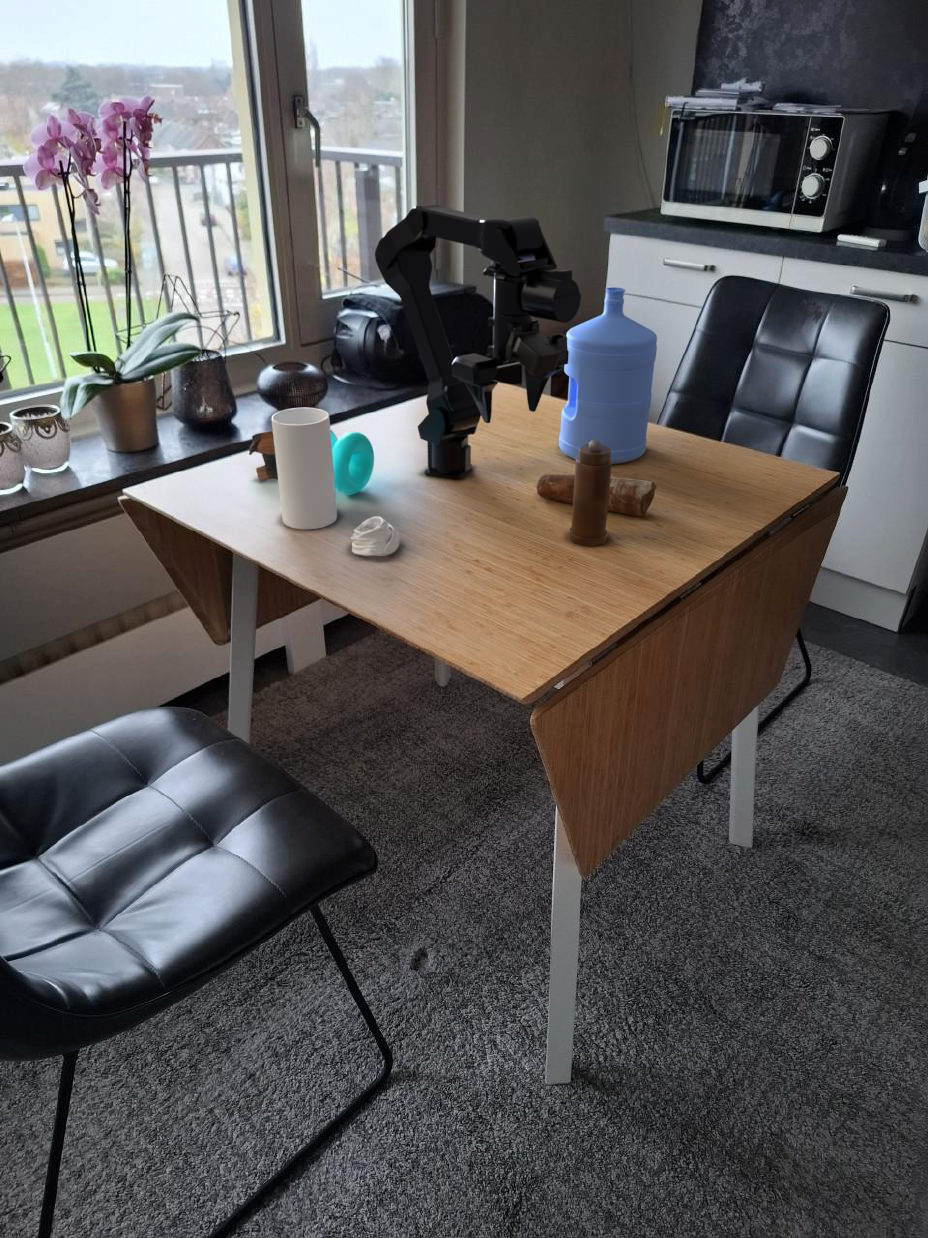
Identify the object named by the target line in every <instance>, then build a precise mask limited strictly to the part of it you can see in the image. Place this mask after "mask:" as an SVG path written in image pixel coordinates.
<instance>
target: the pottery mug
mask: <svg viewBox="0 0 928 1238" xmlns="http://www.w3.org/2000/svg"><path fill="white" fill-rule="evenodd" d="M251 439H252V443H251V444H250V446H249V448H248V451H249V453H248V455H249V456H250V455H253V453H258V454H261V456H262V459H263V463H264V465H261V466H258V467H256V468H255V471H256V474H257V478H258V481H267V480H278V473H277V464H276V455H275V446H274V437H273V430H271V431H264V432H258V433H255V434H253V435H251Z"/></svg>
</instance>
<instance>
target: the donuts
mask: <svg viewBox="0 0 928 1238" xmlns="http://www.w3.org/2000/svg"><path fill="white" fill-rule="evenodd" d="M330 431H331V444H332V457H333V470H334V483H335V490H337V491H338V492H340V494H341V493H342V494H344V495H349V496H351V495H356V494H358V493H359V492H361V491H362V490H363V489H364V488H365V487H366V486H367V484H368V483H369V481H370V479H371V477H372V474H373V470H374V464H375V452H374V449H373V444H372V443H371V441H370V439H369V438H368V437H367V436H366V435H365V434H364V433H361V432H359V431H350V432H347V433H344V434H343V435H341V437H339V439H338V437H337V436H336V434H335V433H334V431H333V430H332V428H330Z"/></svg>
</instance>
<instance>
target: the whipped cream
mask: <svg viewBox="0 0 928 1238" xmlns="http://www.w3.org/2000/svg"><path fill="white" fill-rule="evenodd" d="M353 531H354V533H353V534H352V536H350V539H351V541H352V542H351V546H352V547H351V553H353V554H354V555H356V556H364V557H371V556H377V557H383V556H387V555H388V556H389V555H392V554H393V553H395V552H396V551H397V550H398V548H399V545H400V536H399V534H398V531H397V530H396V529H395V528H394V526H393V525H392V524H391V523H387V520H385V518H383V517H381V516H372V517H369V518H367V519H366V520H364V521H363V522H361V524H359V526H357V527H356V528H355V529H353Z"/></svg>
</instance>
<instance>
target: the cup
mask: <svg viewBox="0 0 928 1238" xmlns="http://www.w3.org/2000/svg"><path fill="white" fill-rule="evenodd" d="M330 420H331V419H330V414H329V412H328V411H326V410H324V409H321V408H317V407H293V408H286V409H283V410H282V409H281V410H279V411H277V412H275V413H273V414H272V416H271V427H272V431H273V437H274V446H275V455H276V464H277V473H278V479H277V482H278V490H279V499H280V508H281V516H282V522H283V524H284V525H285V526H287V527H288V528H292V529H297V530H317V529H321V528H326V527H328V526H330V525H332V524H333V523H335V522H336V521H337V519H338V510H337V509H338V508H337V497H336V488H335V483H334V470H333V457H332V444H331V431H330V429H331V421H330Z"/></svg>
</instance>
